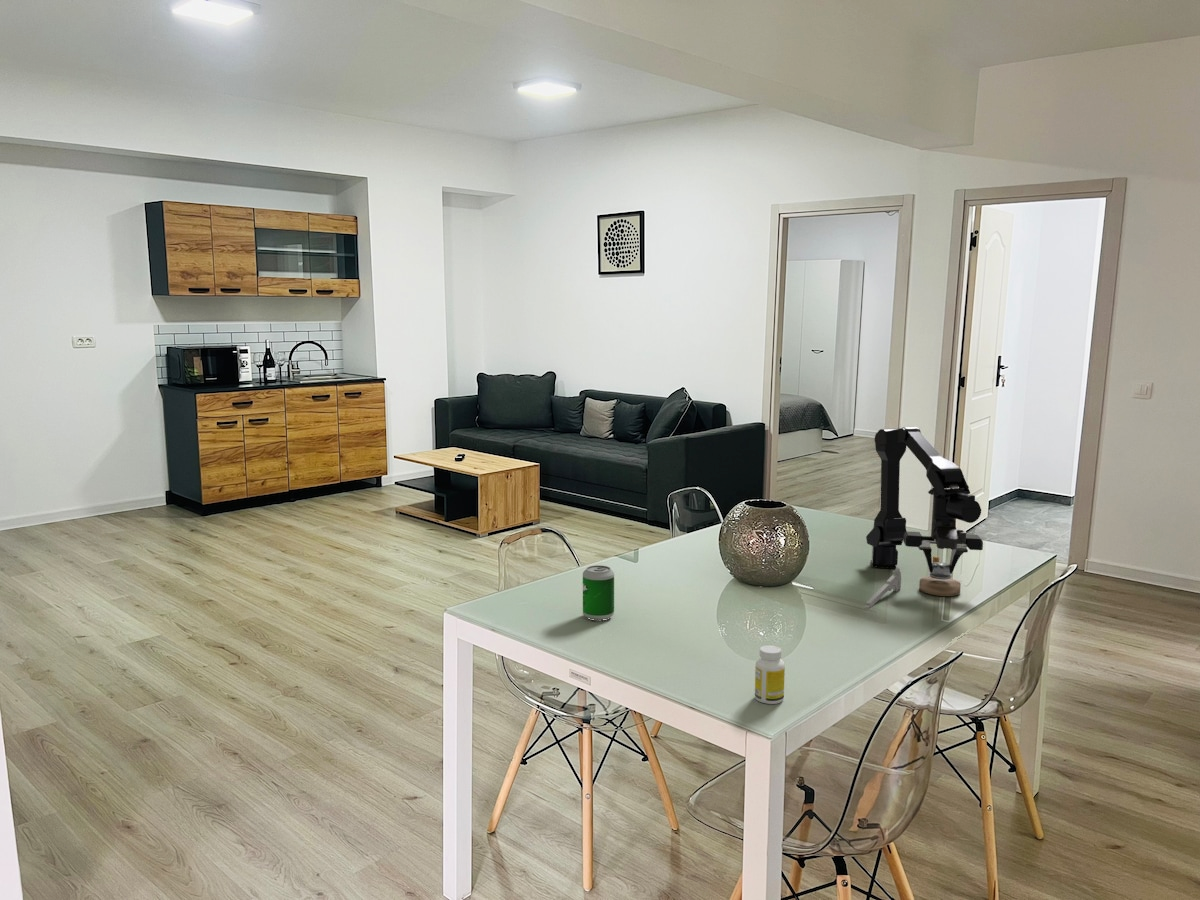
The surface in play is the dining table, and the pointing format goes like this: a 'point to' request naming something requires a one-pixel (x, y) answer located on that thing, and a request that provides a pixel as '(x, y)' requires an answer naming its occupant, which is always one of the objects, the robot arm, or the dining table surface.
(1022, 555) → the dining table surface
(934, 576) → the cover
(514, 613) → the dining table surface
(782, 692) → the supplement bottle
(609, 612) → the soda can
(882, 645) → the dining table surface
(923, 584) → the turntable
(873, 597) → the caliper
